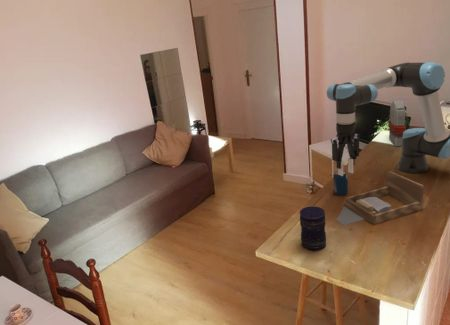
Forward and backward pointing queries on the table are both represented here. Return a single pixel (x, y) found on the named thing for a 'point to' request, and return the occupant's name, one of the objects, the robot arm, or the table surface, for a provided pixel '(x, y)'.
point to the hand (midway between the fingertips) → (345, 173)
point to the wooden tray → (395, 187)
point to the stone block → (378, 204)
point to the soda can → (340, 183)
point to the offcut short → (365, 205)
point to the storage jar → (313, 228)
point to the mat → (348, 217)
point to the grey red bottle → (397, 122)
